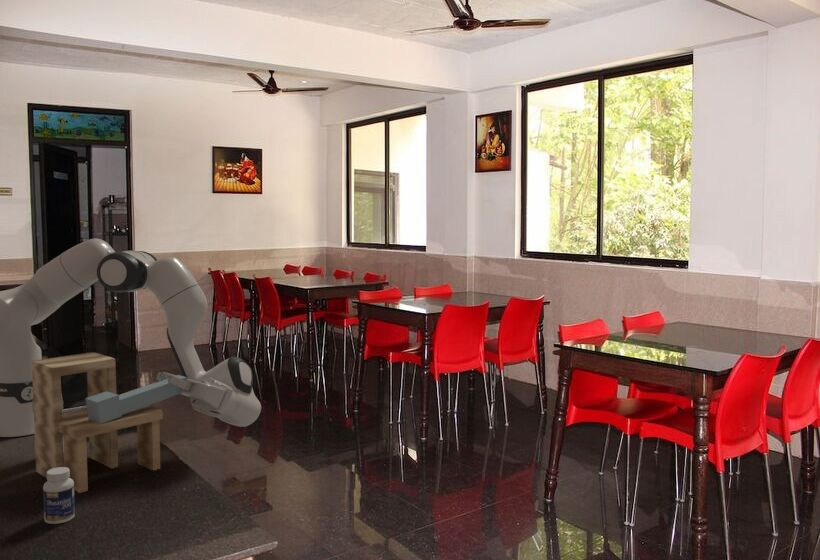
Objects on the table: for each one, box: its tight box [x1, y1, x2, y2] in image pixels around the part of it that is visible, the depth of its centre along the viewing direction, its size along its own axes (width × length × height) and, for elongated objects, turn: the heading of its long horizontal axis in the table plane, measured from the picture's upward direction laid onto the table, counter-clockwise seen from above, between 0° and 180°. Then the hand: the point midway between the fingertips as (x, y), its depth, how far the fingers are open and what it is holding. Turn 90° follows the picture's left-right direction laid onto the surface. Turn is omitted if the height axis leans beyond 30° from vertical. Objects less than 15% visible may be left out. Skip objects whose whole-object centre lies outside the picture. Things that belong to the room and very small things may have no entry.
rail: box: [84, 374, 187, 424], centre depth 159 cm, size 5×23×5 cm, turn 143°
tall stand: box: [32, 351, 119, 479], centre depth 158 cm, size 11×14×26 cm
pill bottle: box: [42, 467, 76, 525], centre depth 133 cm, size 5×5×10 cm
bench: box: [59, 405, 164, 494], centre depth 155 cm, size 8×20×14 cm, turn 140°
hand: (164, 377), depth 163 cm, fingers closed on rail, 4 cm apart
